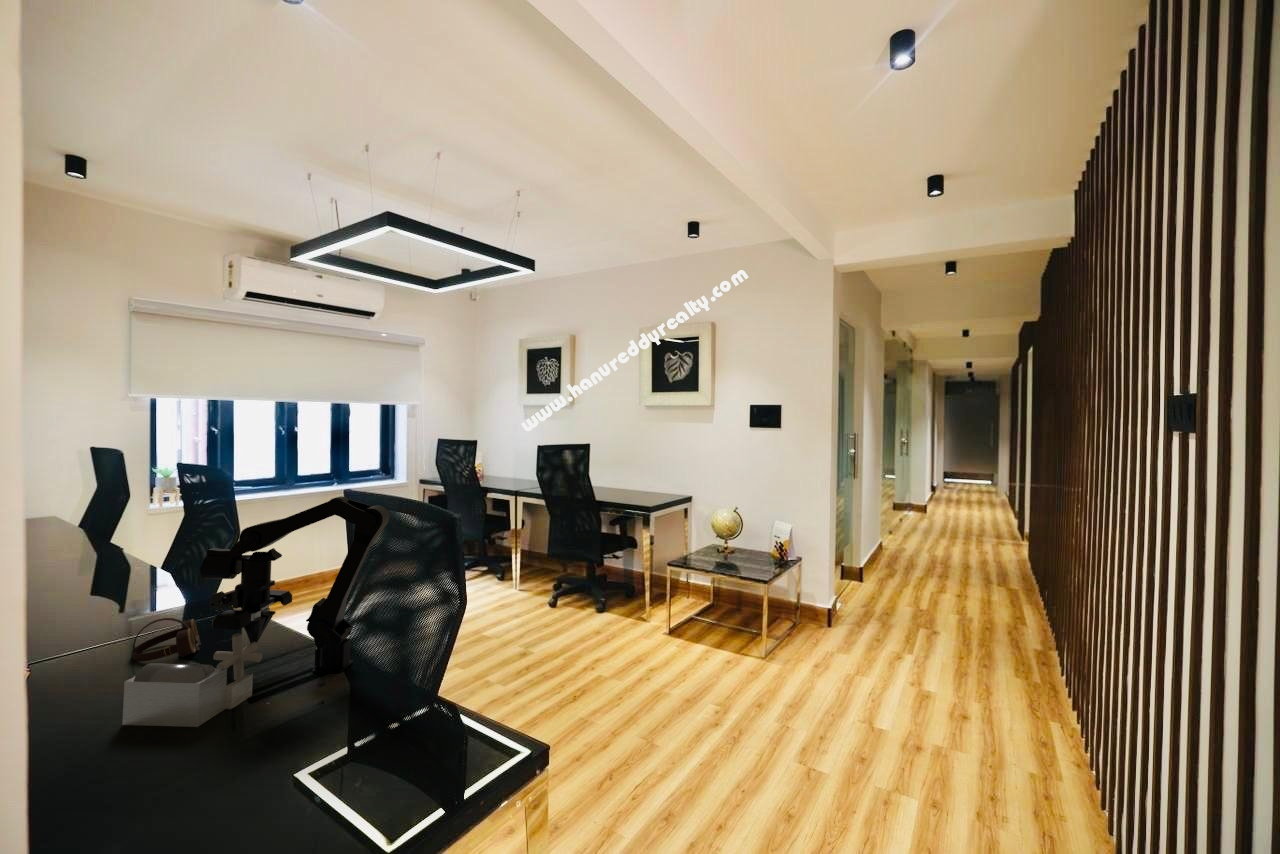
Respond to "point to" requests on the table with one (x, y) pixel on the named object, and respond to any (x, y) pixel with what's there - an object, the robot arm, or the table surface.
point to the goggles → (183, 639)
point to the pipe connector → (238, 656)
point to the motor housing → (180, 694)
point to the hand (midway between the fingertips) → (253, 645)
